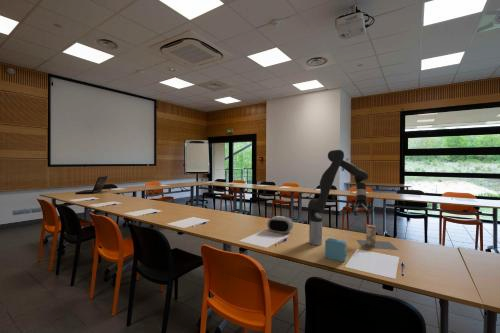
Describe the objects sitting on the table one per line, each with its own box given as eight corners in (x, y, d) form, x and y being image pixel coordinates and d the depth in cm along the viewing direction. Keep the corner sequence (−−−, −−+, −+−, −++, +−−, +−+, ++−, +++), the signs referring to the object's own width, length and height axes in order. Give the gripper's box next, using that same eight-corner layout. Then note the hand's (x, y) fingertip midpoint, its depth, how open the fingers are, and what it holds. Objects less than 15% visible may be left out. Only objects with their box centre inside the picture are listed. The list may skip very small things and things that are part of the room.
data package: (346, 260, 155) (346, 241, 155) (344, 262, 151) (344, 243, 151) (327, 255, 162) (327, 237, 162) (324, 257, 159) (325, 239, 158)
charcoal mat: (362, 248, 176) (362, 247, 176) (355, 240, 194) (356, 239, 194) (398, 250, 172) (398, 250, 172) (389, 242, 190) (389, 241, 190)
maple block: (368, 245, 181) (368, 226, 180) (366, 243, 186) (366, 224, 185) (375, 245, 180) (375, 226, 180) (373, 243, 185) (373, 225, 185)
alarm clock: (267, 232, 214) (267, 216, 214) (270, 229, 223) (270, 214, 223) (290, 235, 206) (290, 219, 206) (292, 232, 215) (293, 216, 215)
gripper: (350, 195, 200) (350, 214, 194) (368, 193, 190) (369, 214, 184) (354, 197, 204) (354, 217, 198) (372, 196, 195) (372, 216, 188)
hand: (361, 215), depth 191 cm, fingers open, 8 cm apart
